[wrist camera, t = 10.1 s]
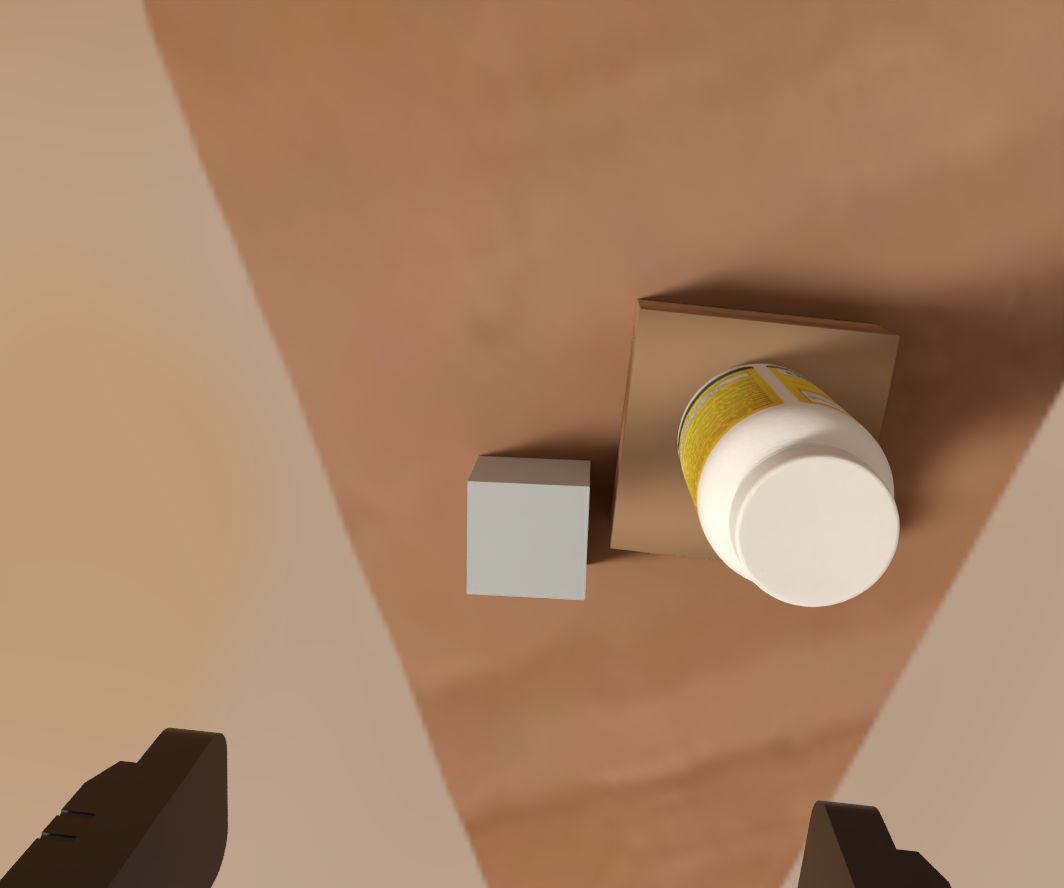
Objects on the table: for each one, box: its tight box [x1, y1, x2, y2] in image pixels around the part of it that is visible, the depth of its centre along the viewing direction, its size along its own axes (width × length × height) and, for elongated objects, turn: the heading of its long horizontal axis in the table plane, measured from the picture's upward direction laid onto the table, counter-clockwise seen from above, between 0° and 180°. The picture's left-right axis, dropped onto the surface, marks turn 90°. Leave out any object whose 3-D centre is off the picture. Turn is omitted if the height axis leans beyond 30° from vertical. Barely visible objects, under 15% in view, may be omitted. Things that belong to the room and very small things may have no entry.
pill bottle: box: [678, 364, 900, 607], centre depth 32 cm, size 6×6×11 cm
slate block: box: [467, 456, 590, 600], centre depth 41 cm, size 5×5×4 cm
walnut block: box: [610, 299, 900, 561], centre depth 39 cm, size 10×10×4 cm
